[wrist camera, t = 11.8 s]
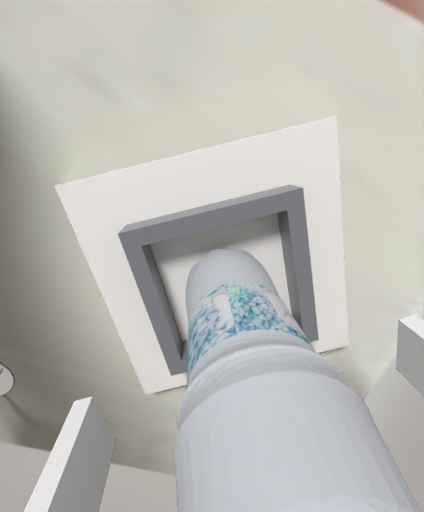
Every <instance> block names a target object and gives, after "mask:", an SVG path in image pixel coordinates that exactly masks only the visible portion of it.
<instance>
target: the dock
mask: <svg viewBox="0 0 424 512" xmlns="http://www.w3.org/2000/svg"><path fill="white" fill-rule="evenodd" d="M54 186H55V189H56V191H57V193H58V195H59V198H60V200H61V202H62V205H63V207H64V209H65V211H66V214H67V216H68V218H69V221H70V223H71V225H72V228H73V230H74V232H75V234H76V237H77V239H78V241H79V244H80V246H81V248H82V250H83V253H84V255H85V257H86V260H87V262H88V264H89V266H90V269H91V271H92V273H93V276H94V278H95V280H96V282H97V285H98V287H99V289H100V292H101V294H102V296H103V298H104V301H105V303H106V305H107V308H108V310H109V312H110V314H111V317H112V319H113V321H114V324H115V326H116V328H117V330H118V333H119V335H120V337H121V340H122V342H123V344H124V347H125V349H126V351H127V353H128V356H129V358H130V360H131V363H132V365H133V367H134V369H135V372H136V374H137V376H138V379H139V381H140V383H141V385H142V388H143V390H144V392H145V395H147V394H151V393H155V392H159V391H163V390H167V389H171V388H175V387H180V386H184V385H187V347H188V317H187V309H186V285H187V280H188V276H189V273H190V271H191V268H192V267H193V266H194V265H195V264H197V263H198V262H199V261H200V260H201V259H203V258H204V257H205V256H206V255H207V254H208V253H209V252H210V251H212V250H214V249H226V250H244V251H246V252H248V253H249V254H251V255H252V256H253V257H254V258H255V259H257V260H258V261H259V262H260V263H261V264H262V266H263V267H264V268H265V270H266V271H267V273H268V274H269V276H270V278H271V280H272V282H273V284H274V286H275V288H276V290H277V292H278V294H279V296H280V298H281V299H282V301H283V302H284V304H285V305H286V307H287V308H288V310H289V311H290V313H291V314H292V316H293V317H294V319H295V321H296V322H297V324H298V325H299V327H300V328H301V330H302V331H303V333H304V334H305V336H306V337H307V339H308V340H309V342H310V343H311V345H312V347H313V348H314V350H315V351H316V353H319V352H324V351H328V350H332V349H336V348H340V347H344V346H348V345H349V341H348V322H347V303H346V284H345V264H344V245H343V226H342V207H341V188H340V169H339V150H338V131H337V115H336V116H332V117H328V118H324V119H320V120H316V121H312V122H308V123H304V124H300V125H296V126H292V127H288V128H284V129H280V130H276V131H272V132H268V133H264V134H260V135H256V136H252V137H247V138H243V139H239V140H235V141H231V142H227V143H223V144H219V145H215V146H211V147H207V148H203V149H199V150H195V151H191V152H187V153H183V154H179V155H175V156H171V157H167V158H163V159H159V160H155V161H151V162H147V163H143V164H139V165H135V166H131V167H127V168H123V169H119V170H115V171H111V172H107V173H103V174H99V175H95V176H91V177H87V178H83V179H79V180H75V181H70V182H66V183H62V184H58V185H54Z"/></svg>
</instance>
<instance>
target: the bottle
mask: <svg viewBox="0 0 424 512" xmlns="http://www.w3.org/2000/svg"><path fill="white" fill-rule="evenodd" d="M186 309H187V317H188V347H187V389H186V391H185V393H184V395H183V396H182V398H181V401H180V404H179V408H178V412H177V428H178V432H177V436H176V439H175V443H174V448H173V464H174V470H175V476H176V491H177V506H178V512H422V510H421V508H420V506H419V505H418V503H417V501H416V499H415V497H414V495H413V494H412V492H411V490H410V488H409V486H408V484H407V483H406V481H405V479H404V477H403V475H402V474H401V472H400V470H399V468H398V466H397V464H396V463H395V461H394V459H393V457H392V455H391V453H390V451H389V449H388V448H387V446H386V444H385V442H384V440H383V438H382V436H381V434H380V432H379V430H378V429H377V427H376V425H375V423H374V421H373V418H372V416H371V414H370V412H369V409H368V407H367V406H366V404H365V402H364V401H363V399H362V398H361V397H360V396H359V395H358V394H357V393H356V392H355V391H354V390H353V389H352V388H351V387H349V386H348V385H347V382H346V381H345V379H344V377H343V375H342V373H341V372H340V371H339V370H338V368H337V367H336V366H335V365H334V364H333V363H332V362H331V361H329V360H328V359H326V358H325V357H324V356H322V355H321V354H319V353H316V351H315V350H314V348H313V347H312V345H311V343H310V342H309V340H308V339H307V337H306V336H305V334H304V333H303V331H302V330H301V328H300V327H299V325H298V324H297V322H296V321H295V319H294V317H293V316H292V314H291V313H290V311H289V310H288V308H287V307H286V305H285V304H284V302H283V301H282V299H281V298H280V296H279V294H278V292H277V290H276V288H275V286H274V284H273V282H272V280H271V278H270V276H269V274H268V273H267V271H266V270H265V268H264V267H263V266H262V264H261V263H260V262H259V261H258V260H257V259H255V258H254V257H253V256H252V255H251V254H249V253H248V252H246V251H244V250H226V249H214V250H212V251H210V252H209V253H208V254H207V255H206V256H205V257H204V258H203V259H201V260H200V261H199V262H198V263H197V264H195V265H194V266H193V267H192V268H191V271H190V273H189V276H188V280H187V285H186Z"/></svg>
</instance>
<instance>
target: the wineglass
mask: <svg viewBox="0 0 424 512" xmlns="http://www.w3.org/2000/svg"><path fill="white" fill-rule="evenodd" d="M13 384H14V379H13V376H12V374H11V372H10V371H9V370H8V369H7V368H6V367H5V366H4V365H2V364H0V396H1V395H4V394H6V393H7V392H8V391H10V390H11V388H12V387H13Z"/></svg>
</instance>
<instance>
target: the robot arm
mask: <svg viewBox="0 0 424 512" xmlns="http://www.w3.org/2000/svg"><path fill="white" fill-rule="evenodd" d="M396 364H397V365H396V369H397V370H398V371H399V372H400V373H401V374H402V375H403V376H404V377H405V378H406V379H407V380H408V381H409V382H410V383H411V384H412V385H413V386H414V387H415V388H416V389H417V390H418V391H419V392H420V393H421V395H423V396H424V320H423V319H421V318H420V317H418V316H417V315H415V316H411V317H407V318H403V319H399V320H398V340H397V362H396ZM115 442H116V438H115V436H114V434H113V433H112V431H111V429H110V427H109V425H108V424H107V422H106V420H105V418H104V416H103V415H102V413H101V411H100V409H99V407H98V406H97V404H96V402H95V400H94V398H93V397H88V398H84V399H80V400H76V401H74V403H73V405H72V408H71V410H70V412H69V414H68V416H67V418H66V421H65V423H64V425H63V427H62V429H61V432H60V434H59V436H58V438H57V440H56V443H55V445H54V447H53V449H52V451H51V453H50V456H49V458H48V460H47V462H46V464H45V467H44V469H43V471H42V473H41V475H40V478H39V480H38V482H37V484H36V487H35V488H34V491H33V493H32V495H31V497H30V500H29V502H28V504H27V506H26V508H25V510H24V512H98V511H99V507H100V503H101V499H102V495H103V491H104V487H105V483H106V479H107V475H108V471H109V467H110V463H111V458H112V454H113V450H114V446H115Z"/></svg>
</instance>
